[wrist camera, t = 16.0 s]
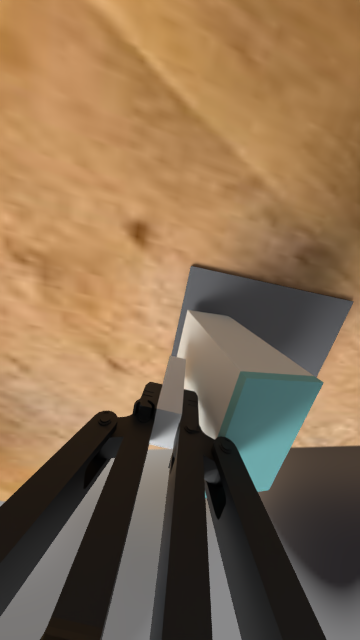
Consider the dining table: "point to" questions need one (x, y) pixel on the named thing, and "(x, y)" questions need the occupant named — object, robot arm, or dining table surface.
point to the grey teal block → (245, 391)
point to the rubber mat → (269, 314)
